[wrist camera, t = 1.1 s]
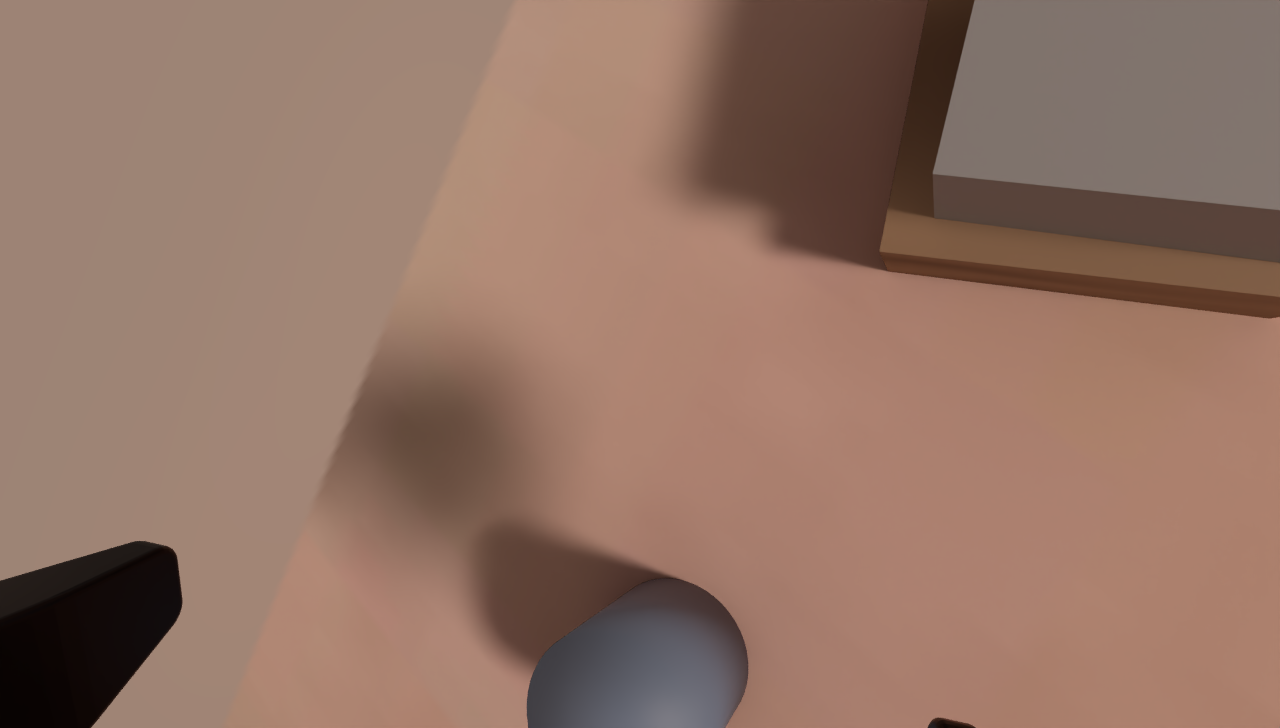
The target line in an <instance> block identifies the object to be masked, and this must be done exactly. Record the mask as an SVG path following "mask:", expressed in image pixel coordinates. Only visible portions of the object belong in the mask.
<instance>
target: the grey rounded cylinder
mask: <svg viewBox="0 0 1280 728" xmlns="http://www.w3.org/2000/svg"><path fill="white" fill-rule="evenodd" d="M747 679H748V657H747V650H746V647H745V643H744V640H743V637H742V634H741V632H740V630H739V628H738V626H737V624H736V622H735V620H734V619H733V617H732V616H731V615H730V613H729V612H728V610H727V609H726V608H725V607H724V606H723V605H722V604H721V603H720V602H719V601H718V600H717V599H716V598H715V597H714V596H712V595H711V594H710V593H708V592H707V591H705V590H704V589H702V588H700V587H698V586H696V585H694V584H691V583H689V582H686V581H682V580H678V579H670V578H663V579H654V580H650V581H647V582H644V583H641V584H639V585H638V586H636V587H634V588H633V589H631V590H630V591H628V592H627V593H625V594H624V595H623V596H621V597H620V598H618V599H617V600H616V601H614V602H613V603H611V604H610V605H608V606H607V607H606V608H604V609H603V610H601V611H600V612H598V613H597V614H596V615H594V616H593V617H591V618H590V619H589V620H587V621H586V622H584V623H583V624H581V625H580V626H579V627H577V628H576V629H574V630H573V631H571V632H570V633H569V634H567V635H566V636H564V637H563V638H562V639H560V640H559V641H557V642H556V643H555V644H553V645H552V646H551V647H550V648H549V649H548V650H547V651H546V652H545V654H544V655H543V656H542V658H541V659H540V660H539V662H538V664H537V666H536V668H535V670H534V673H533V675H532V678H531V681H530V685H529V690H528V697H527V719H528V728H725V727H726V725H727V723H728V722H729V720H730V718H731V717H732V715H733V713H734V712H735V710H736V708H737V707H738V705H739V703H740V702H741V699H742V697H743V695H744V692H745V689H746V685H747Z"/></svg>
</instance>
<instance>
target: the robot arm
mask: <svg viewBox="0 0 1280 728" xmlns="http://www.w3.org/2000/svg"><path fill="white" fill-rule="evenodd" d="M181 608H182V592H181V584H180V576H179V568H178V560H177V555H176V553H175V552H174V551H173V549H171V548H170V547H168V546H164V545H159V544H155V543H150V542H146V541H135V542H131V543H128V544H124V545H121V546H117V547H114V548H110V549H107V550H104V551H101V552H97V553H93V554H90V555H87V556H83V557H80V558H77V559H73V560H70V561H66V562H63V563H59V564H56V565H53V566H49V567H46V568H42V569H39V570H35V571H32V572H29V573H25V574H22V575H19V576H15V577H12V578H8V579H5V580H1V581H0V728H91V727H92V726H93V725H94V724H95V722H96V721H97V720H98V719H99V717H100V716H101V715H102V714H103V712H104V711H105V710H106V709H107V707H108V706H109V705H110V704H111V702H112V701H113V700H114V699H115V697H116V696H117V695H118V694H119V692H120V691H121V690H122V689H123V687H124V686H125V685H126V684H127V682H128V681H129V680H130V679H131V677H132V676H133V675H134V674H135V672H136V671H137V670H138V669H139V667H140V666H141V665H142V664H143V662H144V661H145V660H146V659H147V657H148V656H149V655H150V653H151V652H152V651H153V650H154V649H155V647H156V646H157V645H158V644H159V642H160V641H161V640H162V639H163V637H164V636H165V635H166V633H167V632H168V631H169V630H170V629H171V627H172V626H173V625H174V623H175V622H176V620H177V618H178V616H179V614H180V611H181ZM928 728H975V727H974V726H972V725H970V724H967V723H963V722H958V721H954V720H949V719H945V718H935V719H933V720H932V721H931V722H930V724H929V726H928Z"/></svg>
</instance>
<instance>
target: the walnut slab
mask: <svg viewBox="0 0 1280 728" xmlns="http://www.w3.org/2000/svg"><path fill="white" fill-rule="evenodd" d="M974 1H975V0H928V4H927V10H926V15H925V20H924V25H923V30H922V35H921V40H920V45H919V51H918V56H917V61H916V66H915V71H914V76H913V81H912V86H911V92H910V97H909V102H908V107H907V112H906V117H905V122H904V127H903V133H902V138H901V143H900V148H899V153H898V158H897V163H896V168H895V174H894V179H893V184H892V189H891V194H890V199H889V204H888V209H887V215H886V220H885V225H884V230H883V235H882V240H881V245H880V250H879V252H880V254H881V257H882V259H883V261H884V263H885V266H886V268H887V270H888V271H889V272H897V273H905V274H914V275H922V276H930V277H938V278H946V279H954V280H962V281H970V282H978V283H987V284H995V285H1003V286H1011V287H1019V288H1027V289H1035V290H1043V291H1051V292H1059V293H1068V294H1076V295H1084V296H1092V297H1100V298H1108V299H1116V300H1124V301H1132V302H1140V303H1149V304H1157V305H1165V306H1173V307H1181V308H1189V309H1197V310H1205V311H1213V312H1222V313H1230V314H1238V315H1246V316H1254V317H1262V318H1276V317H1280V262H1272V261H1264V260H1256V259H1249V258H1241V257H1233V256H1225V255H1218V254H1210V253H1202V252H1194V251H1186V250H1179V249H1171V248H1163V247H1155V246H1147V245H1140V244H1132V243H1124V242H1116V241H1108V240H1101V239H1093V238H1085V237H1077V236H1070V235H1062V234H1054V233H1046V232H1038V231H1031V230H1023V229H1015V228H1007V227H999V226H992V225H984V224H976V223H968V222H961V221H953V220H945V219H938V218H934V196H933V170H934V166H935V162H936V158H937V154H938V150H939V146H940V141H941V137H942V133H943V129H944V125H945V121H946V117H947V113H948V108H949V104H950V100H951V96H952V92H953V88H954V84H955V79H956V75H957V71H958V67H959V63H960V59H961V55H962V50H963V46H964V42H965V38H966V34H967V30H968V26H969V22H970V17H971V13H972V9H973V5H974Z"/></svg>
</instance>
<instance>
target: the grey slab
mask: <svg viewBox="0 0 1280 728" xmlns="http://www.w3.org/2000/svg"><path fill="white" fill-rule="evenodd" d="M933 196H934V218H938V219H945V220H953V221H961V222H968V223H976V224H984V225H992V226H999V227H1007V228H1015V229H1023V230H1031V231H1038V232H1046V233H1054V234H1062V235H1070V236H1077V237H1085V238H1093V239H1101V240H1108V241H1116V242H1124V243H1132V244H1140V245H1147V246H1155V247H1163V248H1171V249H1179V250H1186V251H1194V252H1202V253H1210V254H1218V255H1225V256H1233V257H1241V258H1249V259H1256V260H1264V261H1272V262H1280V0H975V1H974V5H973V9H972V13H971V17H970V22H969V26H968V30H967V34H966V38H965V42H964V46H963V50H962V55H961V59H960V63H959V67H958V71H957V75H956V79H955V84H954V88H953V92H952V96H951V100H950V104H949V108H948V113H947V117H946V121H945V125H944V129H943V133H942V137H941V141H940V146H939V150H938V154H937V158H936V162H935V166H934V170H933Z"/></svg>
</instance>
